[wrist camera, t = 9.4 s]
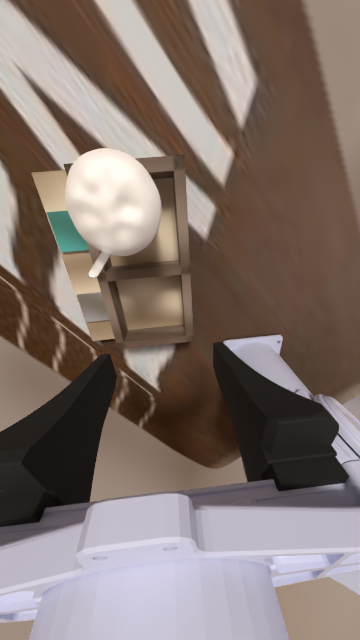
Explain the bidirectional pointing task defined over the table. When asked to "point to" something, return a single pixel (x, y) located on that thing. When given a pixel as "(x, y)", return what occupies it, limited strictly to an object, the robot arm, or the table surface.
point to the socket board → (131, 265)
